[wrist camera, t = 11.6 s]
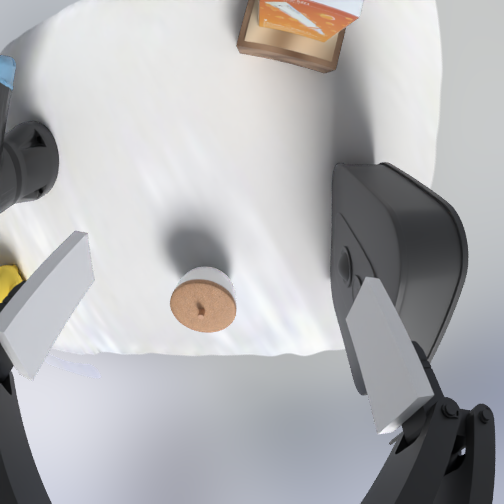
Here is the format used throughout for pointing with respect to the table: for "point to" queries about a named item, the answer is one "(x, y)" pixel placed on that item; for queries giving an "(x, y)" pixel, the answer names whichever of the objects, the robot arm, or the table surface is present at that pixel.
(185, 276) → the lidded jar
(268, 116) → the table surface
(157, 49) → the table surface
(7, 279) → the teapot
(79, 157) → the table surface
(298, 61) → the brown square box
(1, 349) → the robot arm
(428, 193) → the speaker
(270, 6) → the small box
